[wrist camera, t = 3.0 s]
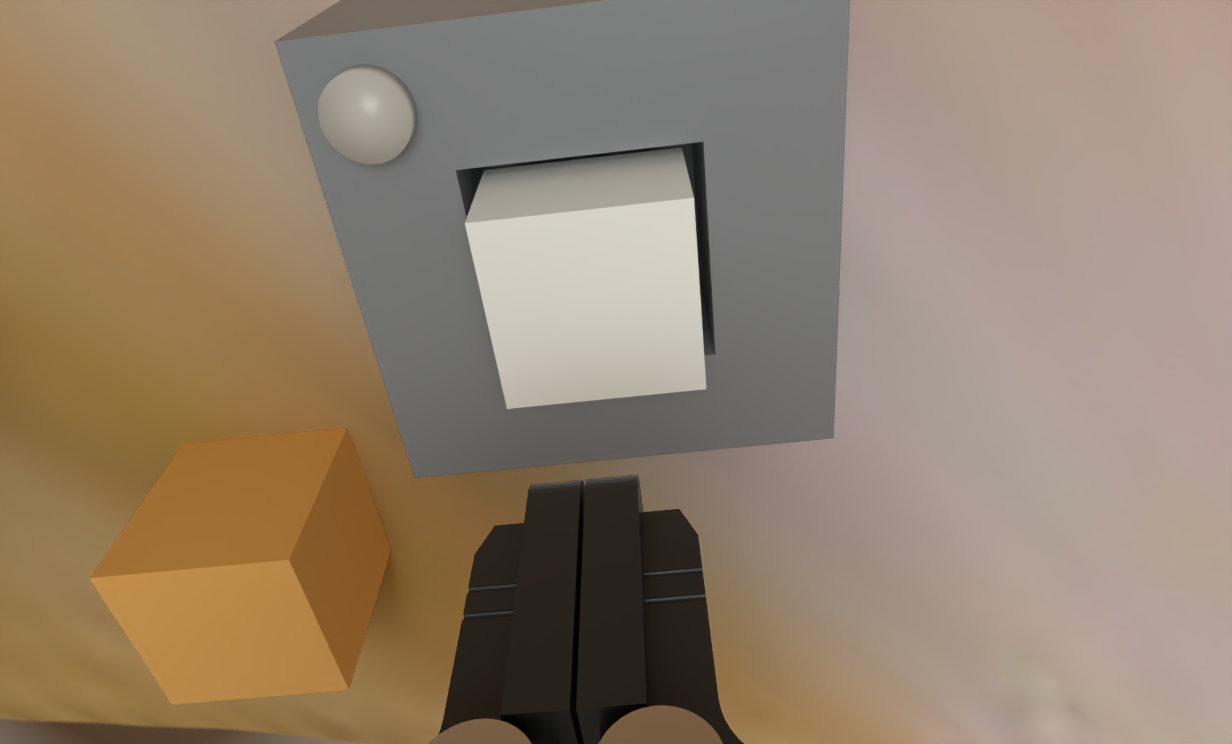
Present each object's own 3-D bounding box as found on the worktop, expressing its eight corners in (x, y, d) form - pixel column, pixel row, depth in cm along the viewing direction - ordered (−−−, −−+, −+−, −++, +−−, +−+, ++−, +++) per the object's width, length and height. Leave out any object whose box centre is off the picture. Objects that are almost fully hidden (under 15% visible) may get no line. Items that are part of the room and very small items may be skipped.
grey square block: (445, 374, 26) (410, 493, 21) (343, -2, 20) (264, 48, 15) (796, 338, 25) (838, 452, 21) (798, -60, 20) (859, -26, 15)
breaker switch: (519, 339, 21) (507, 408, 18) (484, 170, 18) (464, 223, 16) (694, 321, 21) (706, 389, 18) (681, 147, 18) (693, 197, 16)
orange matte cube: (243, 562, 31) (172, 704, 26) (183, 442, 28) (89, 578, 23) (391, 548, 30) (349, 690, 25) (347, 426, 27) (289, 559, 22)
